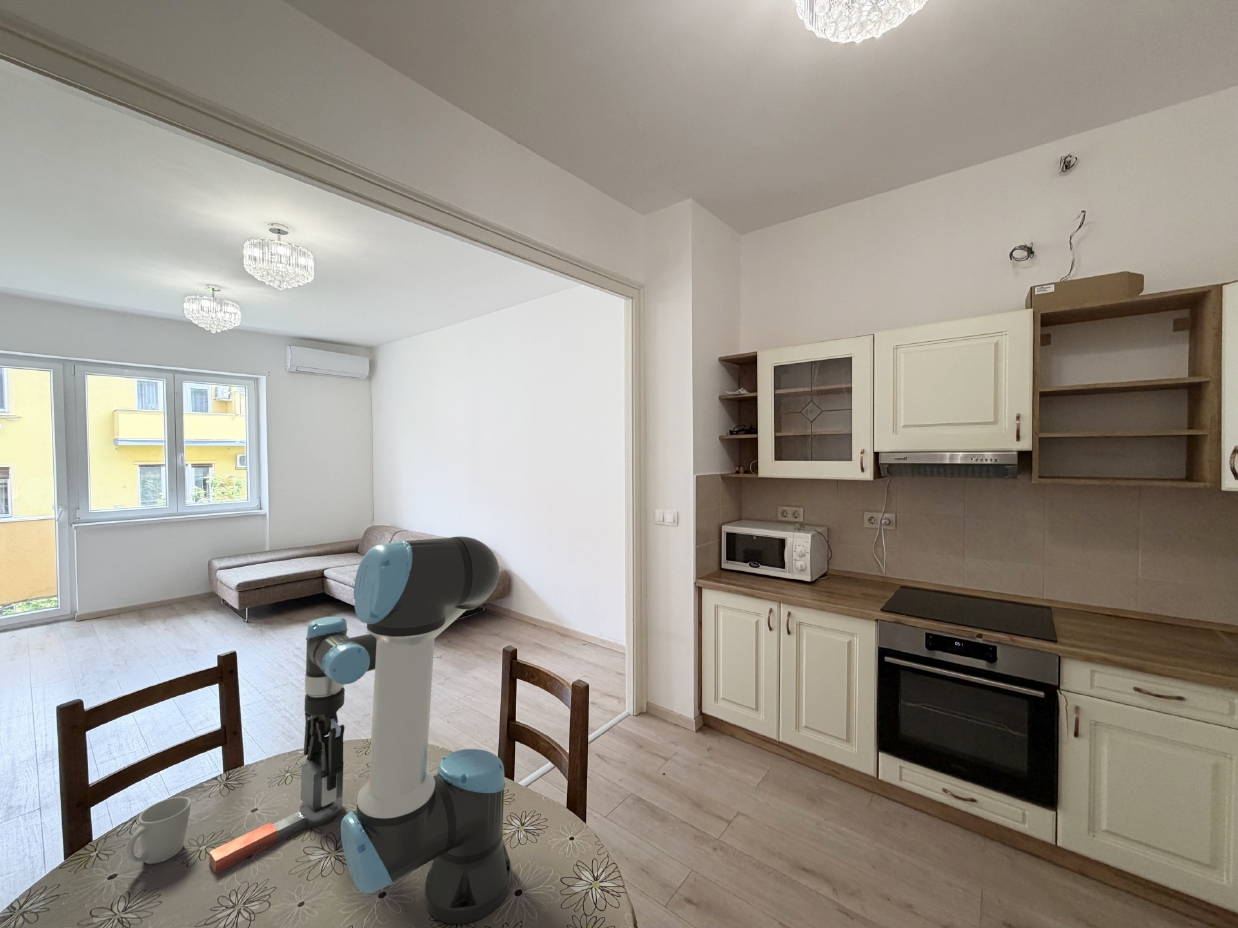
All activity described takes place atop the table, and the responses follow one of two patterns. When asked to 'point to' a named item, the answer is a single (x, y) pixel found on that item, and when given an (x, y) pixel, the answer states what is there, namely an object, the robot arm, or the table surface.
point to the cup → (161, 830)
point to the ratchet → (271, 834)
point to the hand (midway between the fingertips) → (321, 795)
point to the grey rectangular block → (316, 783)
